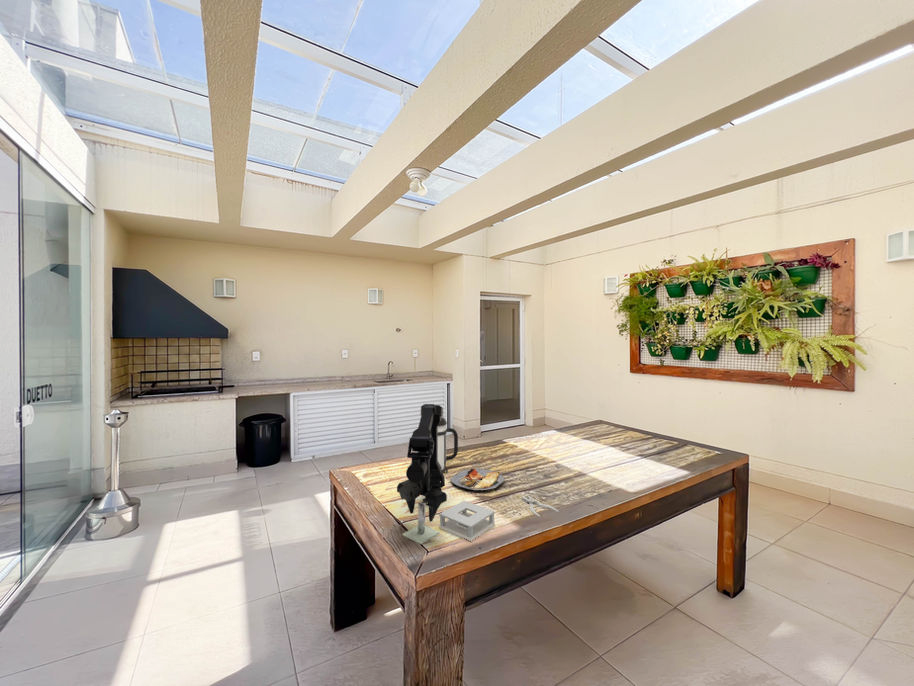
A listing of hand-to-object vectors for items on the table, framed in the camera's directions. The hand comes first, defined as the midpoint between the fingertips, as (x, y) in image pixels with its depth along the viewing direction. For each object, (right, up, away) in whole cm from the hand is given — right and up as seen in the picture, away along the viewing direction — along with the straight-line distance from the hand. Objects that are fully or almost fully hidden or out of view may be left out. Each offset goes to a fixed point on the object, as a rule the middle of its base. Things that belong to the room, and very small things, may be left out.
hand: (421, 517), depth 124 cm
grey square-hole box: (+16, -6, +5) cm, 18 cm away
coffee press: (+2, -6, +62) cm, 62 cm away
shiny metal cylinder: (0, -5, 0) cm, 5 cm away
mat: (0, -6, 0) cm, 6 cm away
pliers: (+44, -6, +21) cm, 49 cm away
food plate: (+22, -6, +46) cm, 52 cm away
